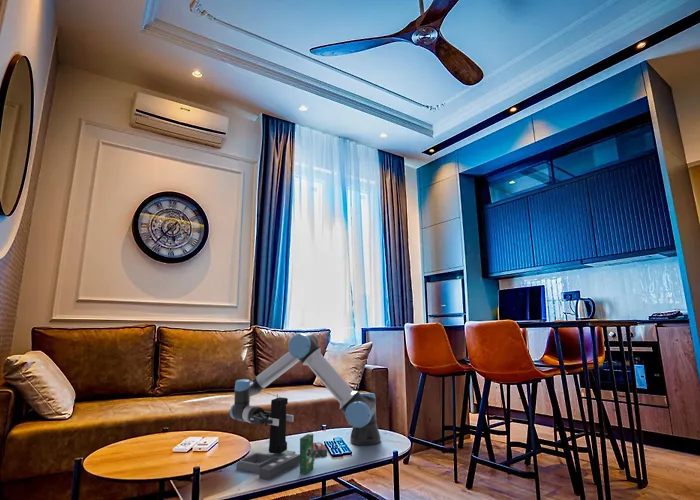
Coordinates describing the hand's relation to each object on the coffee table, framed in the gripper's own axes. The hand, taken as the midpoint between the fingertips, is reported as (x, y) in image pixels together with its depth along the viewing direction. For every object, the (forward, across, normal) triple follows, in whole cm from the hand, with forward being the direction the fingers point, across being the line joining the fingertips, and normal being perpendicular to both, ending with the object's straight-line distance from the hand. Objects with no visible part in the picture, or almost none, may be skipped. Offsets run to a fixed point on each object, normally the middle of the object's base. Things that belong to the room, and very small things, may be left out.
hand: (285, 420), depth 176 cm
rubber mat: (-5, 0, -15) cm, 16 cm away
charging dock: (+3, +14, -15) cm, 21 cm away
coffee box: (+20, +7, -16) cm, 26 cm away
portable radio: (-5, 0, -14) cm, 14 cm away
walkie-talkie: (+10, -10, -16) cm, 21 cm away
